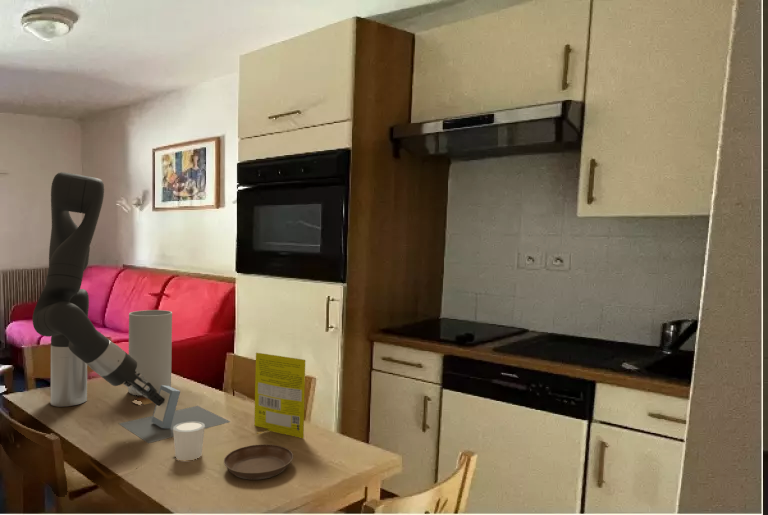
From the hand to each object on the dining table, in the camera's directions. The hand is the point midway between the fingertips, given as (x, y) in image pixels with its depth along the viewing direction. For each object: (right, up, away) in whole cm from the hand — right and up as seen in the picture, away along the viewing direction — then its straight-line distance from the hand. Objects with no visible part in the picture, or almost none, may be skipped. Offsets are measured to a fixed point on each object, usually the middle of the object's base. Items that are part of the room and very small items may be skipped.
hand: (160, 402), depth 138 cm
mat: (+3, -7, +3) cm, 8 cm away
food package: (+30, -8, 0) cm, 31 cm away
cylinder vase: (-17, -5, +32) cm, 37 cm away
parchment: (-8, -6, +18) cm, 21 cm away
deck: (0, -6, 0) cm, 6 cm away
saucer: (+30, -9, -21) cm, 38 cm away
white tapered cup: (+13, -8, -16) cm, 22 cm away
